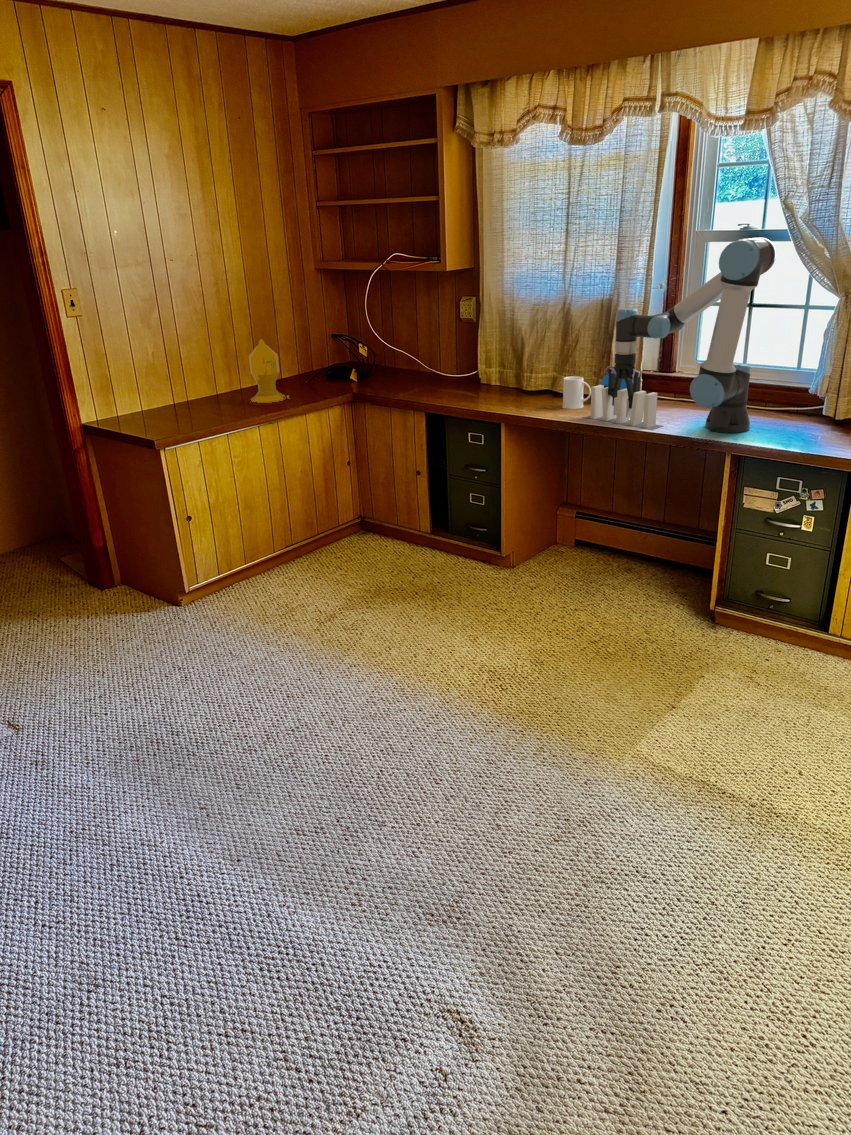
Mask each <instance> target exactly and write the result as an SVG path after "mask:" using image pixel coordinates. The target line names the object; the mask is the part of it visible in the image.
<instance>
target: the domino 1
mask: <svg viewBox="0 0 851 1135" xmlns="http://www.w3.org/2000/svg"><path fill="white" fill-rule="evenodd" d="M590 388H591V395H590V415H591V418H592V419H596V418H599V417H603V408H602V388H604V385H600V384H598V385H596V386H590Z"/></svg>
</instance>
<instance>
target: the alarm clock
mask: <svg viewBox="0 0 851 1135" xmlns="http://www.w3.org/2000/svg"><path fill="white" fill-rule="evenodd" d="M610 368H614V366H613V365H611V366H607V367H606V368H605V369H604V371H603V375H604V376H603V377H602V379H601V381H600V384H599V385H604V388H606V387H608V382H609V374H608V369H610ZM616 375H617V374H616V372H615V378H616ZM615 381H616V380H615ZM622 389H627V386H626V382H625V379H623V380H622V383H621V387H620V390H622Z"/></svg>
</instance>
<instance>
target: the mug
mask: <svg viewBox="0 0 851 1135" xmlns="http://www.w3.org/2000/svg"><path fill="white" fill-rule="evenodd" d="M584 380H585V379H584V377H583V376H580V375H579V376H578V375H577V376H576V375H572V376H566V377H563V381H562V382H563V386H562V387H563V389H562V390H563V391H562V392H563V394H562V409H569V410H572V409H573V410H574V409H575V410H577V409H583V408H584V402H586V401H588V400H589V399H590V398H591V386H590V384H588V383H587V382H586V381H584ZM584 386H586V387H587V388H588V390H589V393H588V395H587V397H586V398H584Z"/></svg>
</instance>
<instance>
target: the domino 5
mask: <svg viewBox="0 0 851 1135" xmlns="http://www.w3.org/2000/svg"><path fill="white" fill-rule="evenodd" d="M657 406H658V392H653V391H652V392H650V393H646V394H645V400H644V411H643V418H642V422H643V428H649V427H652V426H655V425H657V424H656V423H657V422H656V420H657Z"/></svg>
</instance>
